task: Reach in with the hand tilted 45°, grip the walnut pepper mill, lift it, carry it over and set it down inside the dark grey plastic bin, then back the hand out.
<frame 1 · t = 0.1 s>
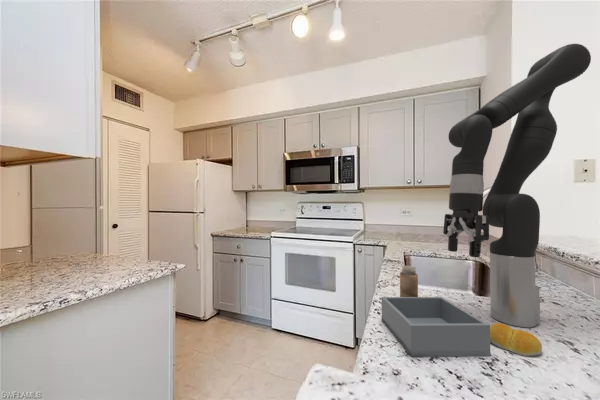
hand: (462, 253, 67), 17 cm above the worktop, tool pointing down, fingers open, 8 cm apart
bin: (428, 335, 58), on the worktop
pepper mill: (408, 308, 74), on the worktop
bread roll: (511, 346, 54), on the worktop
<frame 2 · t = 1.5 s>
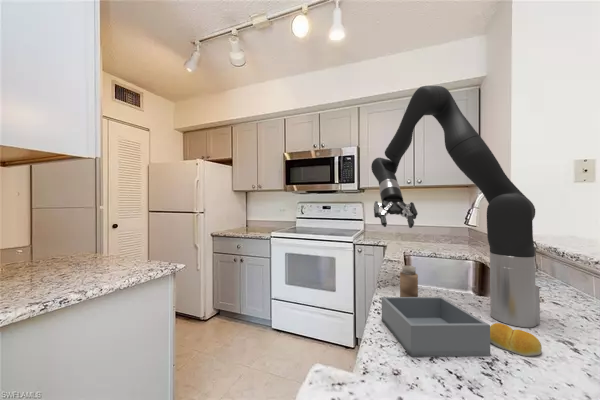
hand: (398, 225, 85), 23 cm above the worktop, tool tilted 45°, fingers open, 8 cm apart
nothing on the worktop moved.
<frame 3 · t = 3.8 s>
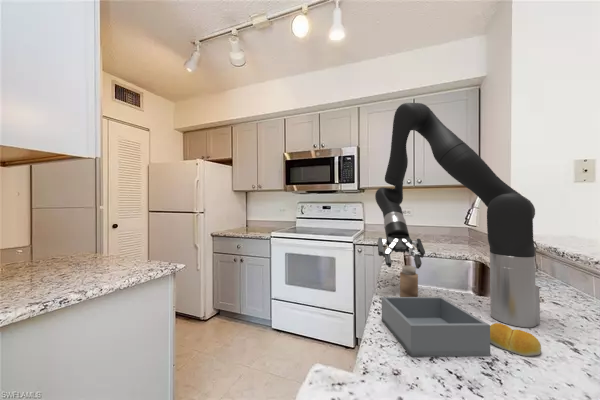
hand: (404, 266, 79), 11 cm above the worktop, tool tilted 45°, fingers open, 8 cm apart
nothing on the worktop moved.
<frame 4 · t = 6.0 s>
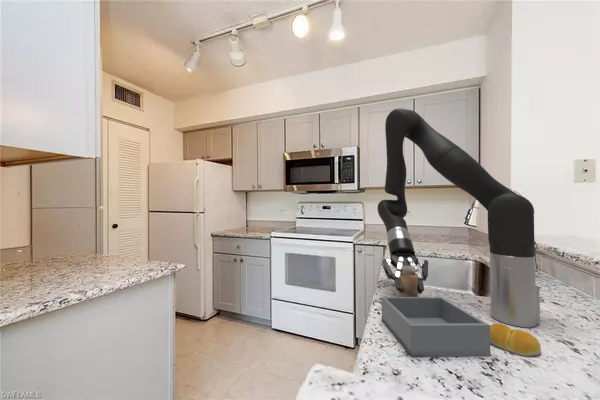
hand: (410, 291, 72), 5 cm above the worktop, tool tilted 45°, fingers closed on pepper mill, 4 cm apart
pepper mill: (409, 308, 74), on the worktop, touching gripper
everything else where it was.
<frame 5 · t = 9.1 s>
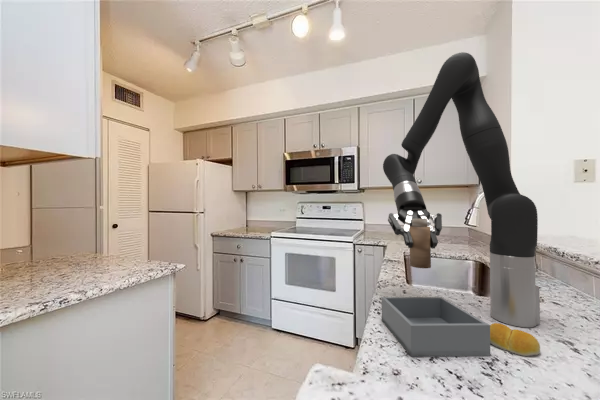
hand: (422, 246, 62), 20 cm above the worktop, tool tilted 45°, fingers closed on pepper mill, 4 cm apart
pepper mill: (420, 266, 64), point 14 cm above the worktop, touching gripper
everything else where it was.
when the fingers open (8 cm above the worktop, at t = 12.4 s): pepper mill drops 1 cm, resting on bin.
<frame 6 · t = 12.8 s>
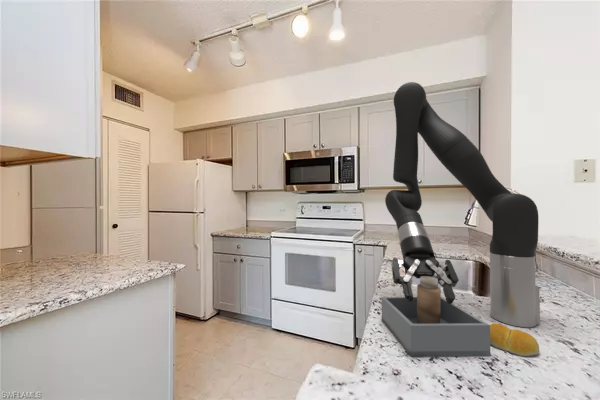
hand: (430, 301, 57), 8 cm above the worktop, tool tilted 45°, fingers open, 8 cm apart
pepper mill: (428, 330, 58), point 1 cm above the worktop, touching bin
everything else where it was.
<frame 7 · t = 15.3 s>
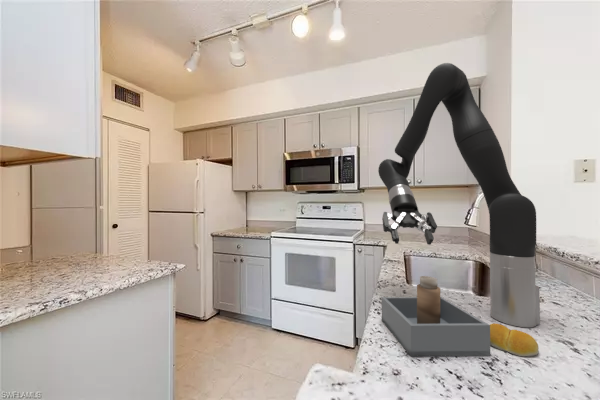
hand: (413, 242, 69), 20 cm above the worktop, tool tilted 45°, fingers open, 8 cm apart
nothing on the worktop moved.
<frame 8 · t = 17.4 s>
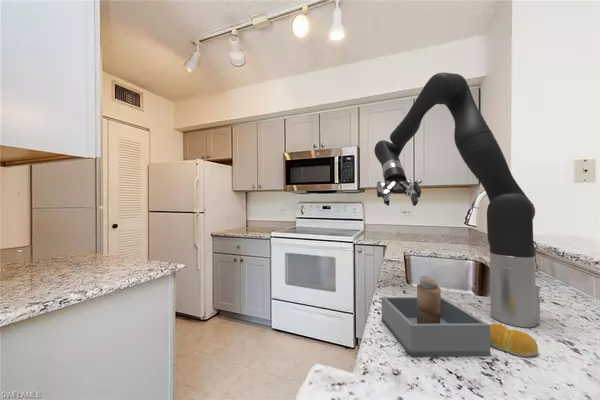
hand: (401, 203, 84), 31 cm above the worktop, tool tilted 45°, fingers open, 8 cm apart
at the end: pepper mill inside the target area on the bin (0.1 cm from its centre), point 1.0 cm above the bin's base; the gripper is holding nothing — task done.
